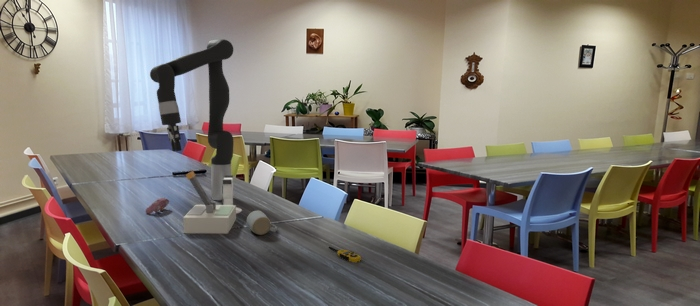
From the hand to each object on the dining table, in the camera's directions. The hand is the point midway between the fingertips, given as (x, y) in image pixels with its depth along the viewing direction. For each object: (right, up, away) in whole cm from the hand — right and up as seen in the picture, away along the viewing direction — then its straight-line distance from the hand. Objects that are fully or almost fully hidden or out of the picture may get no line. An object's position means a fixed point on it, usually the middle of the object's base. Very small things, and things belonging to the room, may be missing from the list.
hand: (177, 150), depth 184 cm
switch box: (+19, -29, -14) cm, 38 cm away
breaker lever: (+19, -22, -15) cm, 33 cm away
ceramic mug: (+40, -31, -19) cm, 54 cm away
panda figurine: (+20, -27, +7) cm, 34 cm away
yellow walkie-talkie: (+71, -35, -39) cm, 88 cm away
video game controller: (-9, -26, +3) cm, 28 cm away
